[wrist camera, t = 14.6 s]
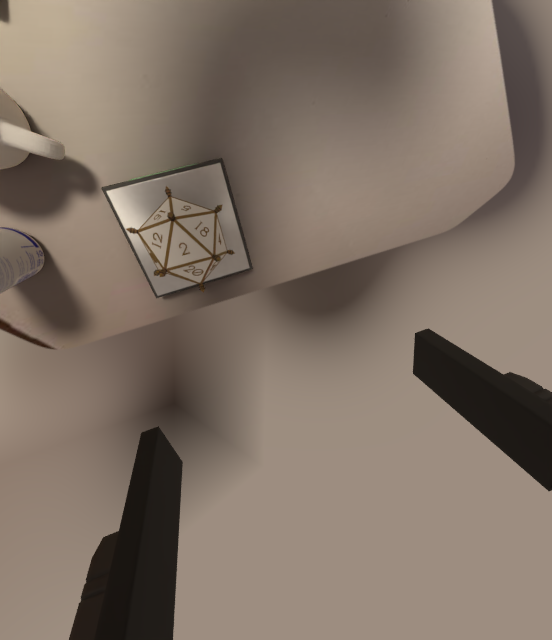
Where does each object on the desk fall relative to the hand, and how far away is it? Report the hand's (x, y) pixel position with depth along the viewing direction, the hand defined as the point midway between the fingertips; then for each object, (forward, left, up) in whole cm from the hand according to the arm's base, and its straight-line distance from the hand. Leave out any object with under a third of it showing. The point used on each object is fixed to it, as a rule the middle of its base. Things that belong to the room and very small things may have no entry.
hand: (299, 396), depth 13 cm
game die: (-4, -6, -22) cm, 23 cm away
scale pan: (-4, -6, -22) cm, 23 cm away
